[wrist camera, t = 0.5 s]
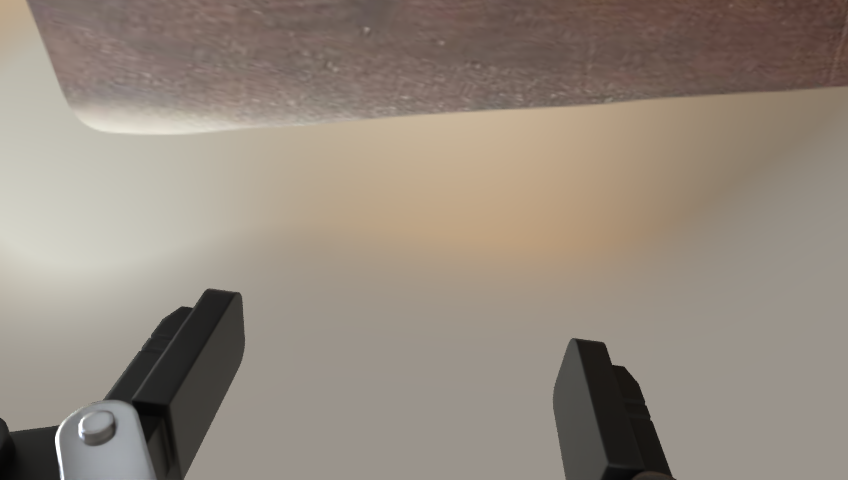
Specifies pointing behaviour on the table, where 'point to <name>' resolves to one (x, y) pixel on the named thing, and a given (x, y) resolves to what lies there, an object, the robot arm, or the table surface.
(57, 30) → the table surface
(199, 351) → the robot arm
